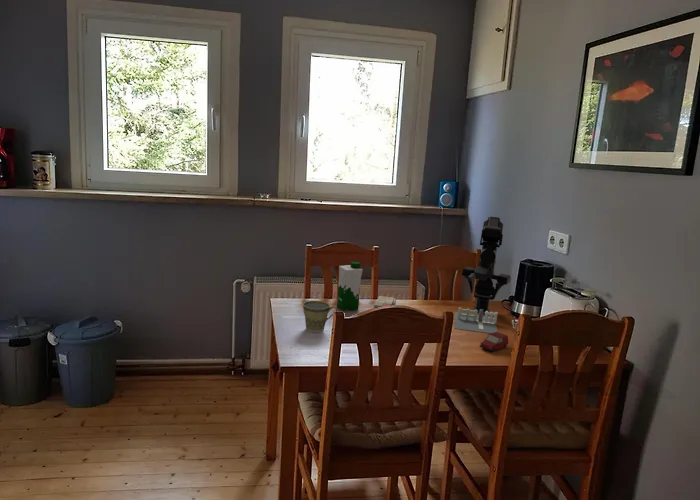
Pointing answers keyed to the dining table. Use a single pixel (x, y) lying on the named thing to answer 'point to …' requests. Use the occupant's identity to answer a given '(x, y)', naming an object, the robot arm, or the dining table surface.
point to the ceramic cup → (316, 315)
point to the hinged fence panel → (467, 313)
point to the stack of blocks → (384, 301)
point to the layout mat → (474, 324)
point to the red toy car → (494, 341)
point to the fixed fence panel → (487, 316)
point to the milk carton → (349, 286)
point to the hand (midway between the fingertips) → (483, 295)
